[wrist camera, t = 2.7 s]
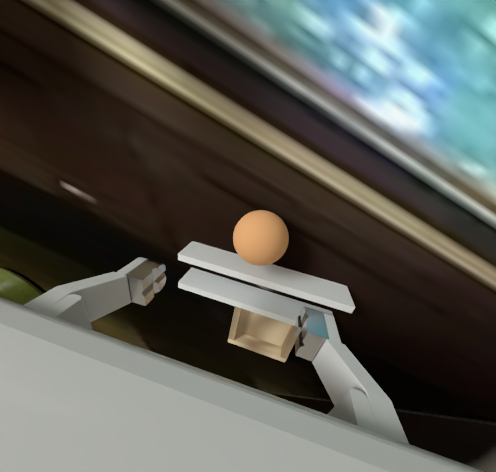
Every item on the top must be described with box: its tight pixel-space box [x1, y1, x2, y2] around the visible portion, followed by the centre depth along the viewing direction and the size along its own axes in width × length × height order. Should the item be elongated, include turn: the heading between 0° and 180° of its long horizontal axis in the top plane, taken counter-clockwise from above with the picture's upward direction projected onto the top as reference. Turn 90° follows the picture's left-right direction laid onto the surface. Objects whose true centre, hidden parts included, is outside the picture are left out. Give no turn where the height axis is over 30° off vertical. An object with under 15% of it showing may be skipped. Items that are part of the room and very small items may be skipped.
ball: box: [233, 210, 289, 266], centre depth 16 cm, size 5×5×5 cm
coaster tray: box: [228, 306, 297, 362], centre depth 23 cm, size 8×8×2 cm
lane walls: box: [178, 241, 355, 326], centre depth 20 cm, size 18×5×3 cm, turn 79°
